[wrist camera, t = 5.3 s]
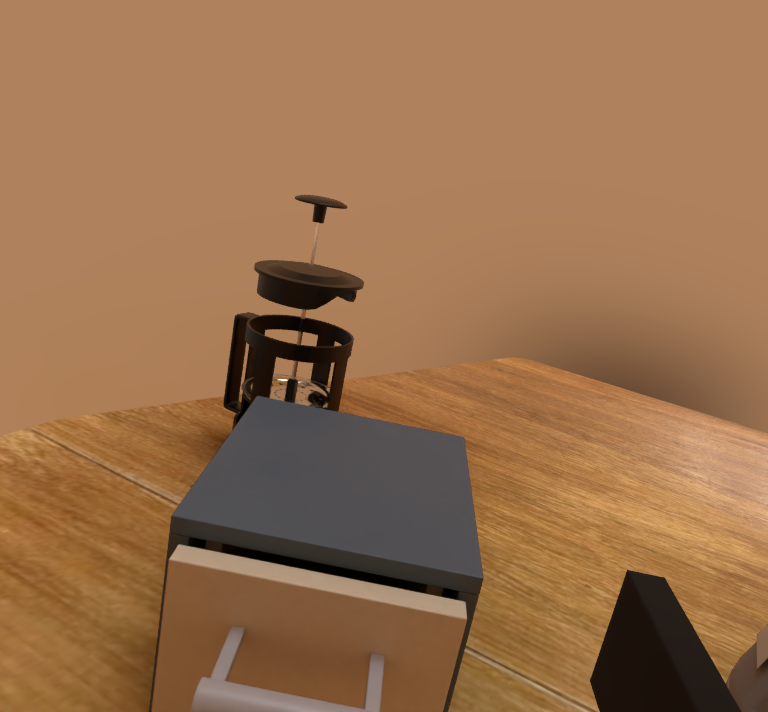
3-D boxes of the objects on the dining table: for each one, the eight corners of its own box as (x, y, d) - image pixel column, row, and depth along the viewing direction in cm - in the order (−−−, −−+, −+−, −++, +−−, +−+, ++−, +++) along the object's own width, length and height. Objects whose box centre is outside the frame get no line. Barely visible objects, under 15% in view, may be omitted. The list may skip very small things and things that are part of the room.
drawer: (423, 894, 26) (475, 707, 24) (100, 828, 26) (118, 636, 24) (424, 589, 45) (454, 467, 42) (235, 551, 45) (253, 427, 42)
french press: (358, 464, 63) (407, 212, 56) (298, 500, 55) (348, 210, 48) (257, 422, 68) (291, 184, 61) (188, 449, 59) (220, 178, 53)
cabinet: (432, 771, 33) (484, 578, 30) (148, 713, 33) (170, 515, 30) (430, 577, 48) (464, 436, 45) (236, 538, 48) (257, 395, 45)
